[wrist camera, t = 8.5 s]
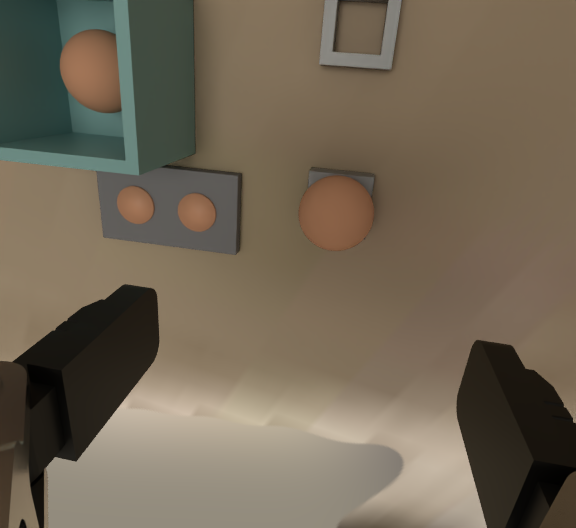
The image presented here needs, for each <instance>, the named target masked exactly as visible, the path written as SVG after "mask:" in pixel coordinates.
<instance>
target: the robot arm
mask: <svg viewBox="0 0 576 528" xmlns="http://www.w3.org/2000/svg"><path fill="white" fill-rule="evenodd" d="M158 347H159V323H158V302H157V294H156V291H155V290H154V289H152V288H146V287H140V286H134V285H127V284H125V285H122V286H121V287H120V288H119V289H117V290H116V291H115V292H114V293H112V294H111V295H110V296H109V297H108V298H106V299H105V300H102V299H101V300H99V301H97V302H94V303H92V304H90V305H87V306H85V307H83V308H81V309H80V310H78V311H77V312H76V313H75V314H73V315H72V316H71V317H69V318H68V320H67V321H64V322H63V323H62V324H60V325H59V326H58V327H57V328H56V330H55V331H51V332H50V333H49V334H48V335H46V336H45V337H44V338H42V339H41V340H40V341H39V342H37V343H36V344H35V345H33V346H32V347H31V348H29V349H28V350H27V351H26V352H24V353H23V354H22V355H20V356H19V357H18V358H17V359H15V360H14V361H13V362H8V361H0V528H48V476H47V471H46V467H47V466H48V464H49V463H50V462H51V461H52V460H53V458H54V457H58V458H62V459H67V460H72V461H77V460H78V458H79V457H80V456H81V455H82V453H83V452H84V451H85V450H86V448H87V447H88V446H89V444H90V443H91V442H92V440H93V439H94V438H95V437H96V435H97V434H98V433H99V431H100V430H101V429H102V428H103V426H104V425H105V424H106V423H107V421H108V420H109V419H110V417H111V416H112V415H113V413H114V412H115V411H116V410H117V408H118V407H119V406H120V404H121V403H122V402H123V401H124V399H125V398H126V397H127V395H128V394H129V393H130V392H131V390H132V389H133V388H134V386H135V385H136V384H137V383H138V381H139V380H140V379H141V377H142V376H143V375H144V373H145V372H146V371H147V370H148V368H149V367H150V366H151V364H152V363H153V361H154V360H155V357H156V355H157V352H158ZM457 418H458V422H459V426H460V430H461V433H462V437H463V441H464V444H465V448H466V452H467V455H468V459H469V463H470V466H471V470H472V474H473V477H474V481H475V485H476V488H477V492H478V496H479V499H480V503H481V507H482V510H483V514H484V518H485V521H486V525H487V528H576V423H573V418H572V416H571V415H570V413H569V412H568V410H567V408H565V407H564V403H563V402H562V400H561V399H560V397H559V395H558V394H557V392H556V391H555V389H554V387H553V386H552V385H551V384H549V383H548V382H547V381H546V380H545V379H544V378H542V377H541V376H540V375H539V374H538V373H537V372H536V371H534V370H529V369H525V367H524V365H523V364H522V362H521V360H520V358H519V356H518V355H517V353H516V351H515V349H514V348H513V347H512V346H511V345H507V344H500V343H494V342H487V341H481V340H477V341H475V342H474V344H473V346H472V348H471V352H470V355H469V358H468V362H467V365H466V368H465V372H464V375H463V378H462V381H461V385H460V388H459V392H458V396H457Z"/></svg>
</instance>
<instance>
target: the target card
mask: <svg viewBox="0 0 576 528" xmlns="http://www.w3.org/2000/svg"><path fill="white" fill-rule="evenodd" d="M241 174H242V173H233V172H224V171H214V170H205V169H196V168H187V167H177V166H168V165H165V166H162V167H159V168H157V169H154V170H152V171H149V172H147V173H144V174H142V175H130V174H121V173H112V172H103V171H97V181H98V190H99V200H100V209H101V219H102V228H103V237H105V238H112V239H120V240H127V241H135V242H142V243H150V244H158V245H165V246H173V247H180V248H188V249H195V250H203V251H211V252H218V253H226V254H233V255H236V254H237V253H238V251H239V243H240V209H241Z"/></svg>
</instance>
